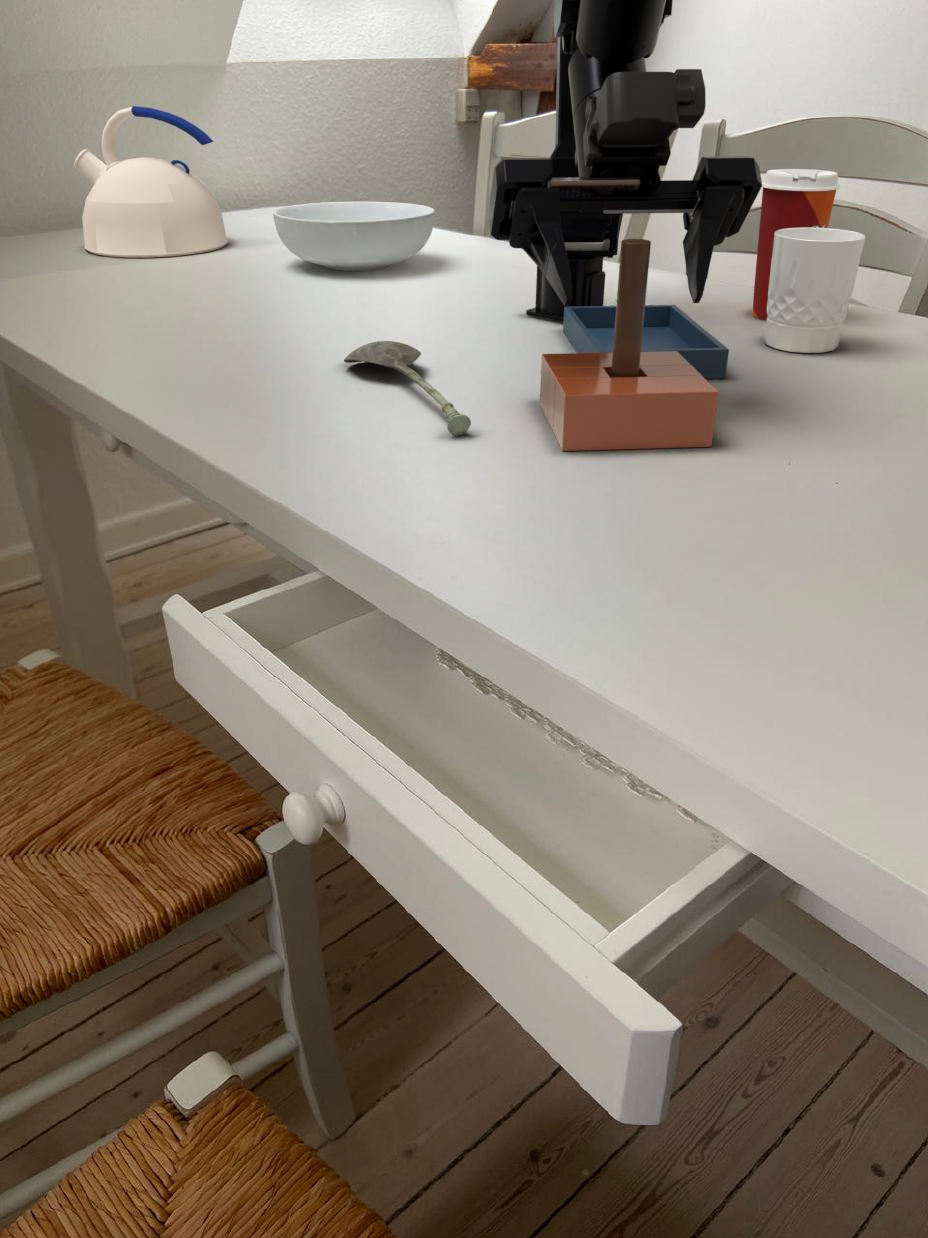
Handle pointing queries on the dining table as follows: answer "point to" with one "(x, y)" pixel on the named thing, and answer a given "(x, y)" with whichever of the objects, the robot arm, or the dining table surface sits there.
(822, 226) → the paper cup
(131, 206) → the kettle
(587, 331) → the tray
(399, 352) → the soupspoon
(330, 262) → the serving bowl
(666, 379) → the stick holder base
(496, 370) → the dining table surface
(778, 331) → the white cup
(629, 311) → the walnut stick
